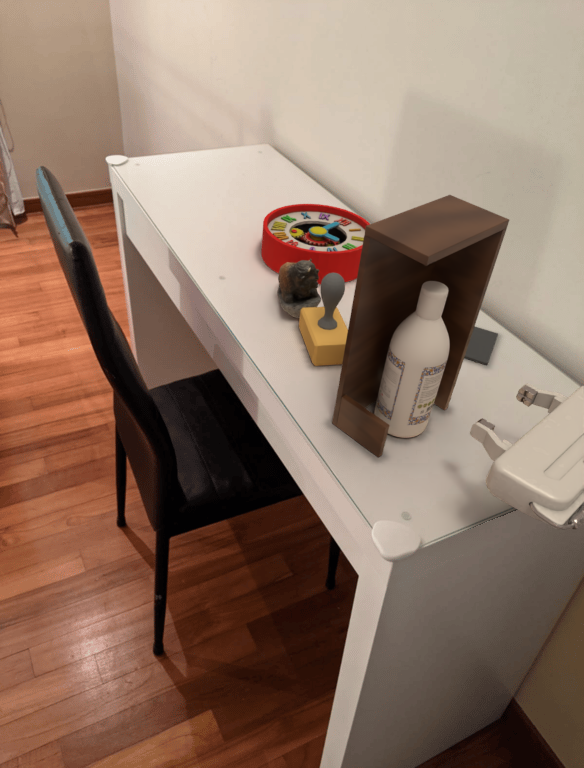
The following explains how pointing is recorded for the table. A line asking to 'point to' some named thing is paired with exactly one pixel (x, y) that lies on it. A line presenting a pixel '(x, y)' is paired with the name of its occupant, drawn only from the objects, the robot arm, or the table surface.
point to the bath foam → (415, 365)
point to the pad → (481, 345)
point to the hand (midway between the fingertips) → (498, 407)
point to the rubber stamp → (325, 324)
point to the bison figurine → (298, 286)
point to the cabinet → (413, 299)
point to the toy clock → (314, 238)
